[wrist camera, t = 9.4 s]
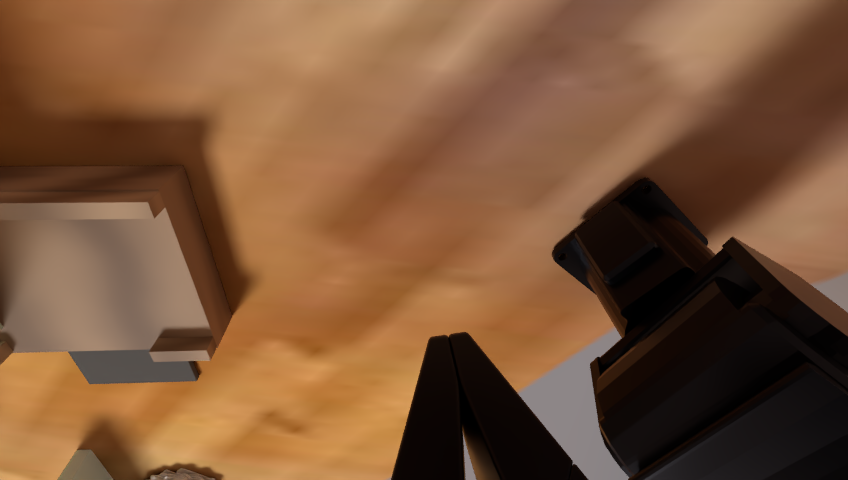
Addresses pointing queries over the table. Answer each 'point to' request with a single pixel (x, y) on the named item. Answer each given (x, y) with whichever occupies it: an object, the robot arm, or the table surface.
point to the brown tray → (106, 263)
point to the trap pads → (130, 367)
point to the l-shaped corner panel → (89, 476)
